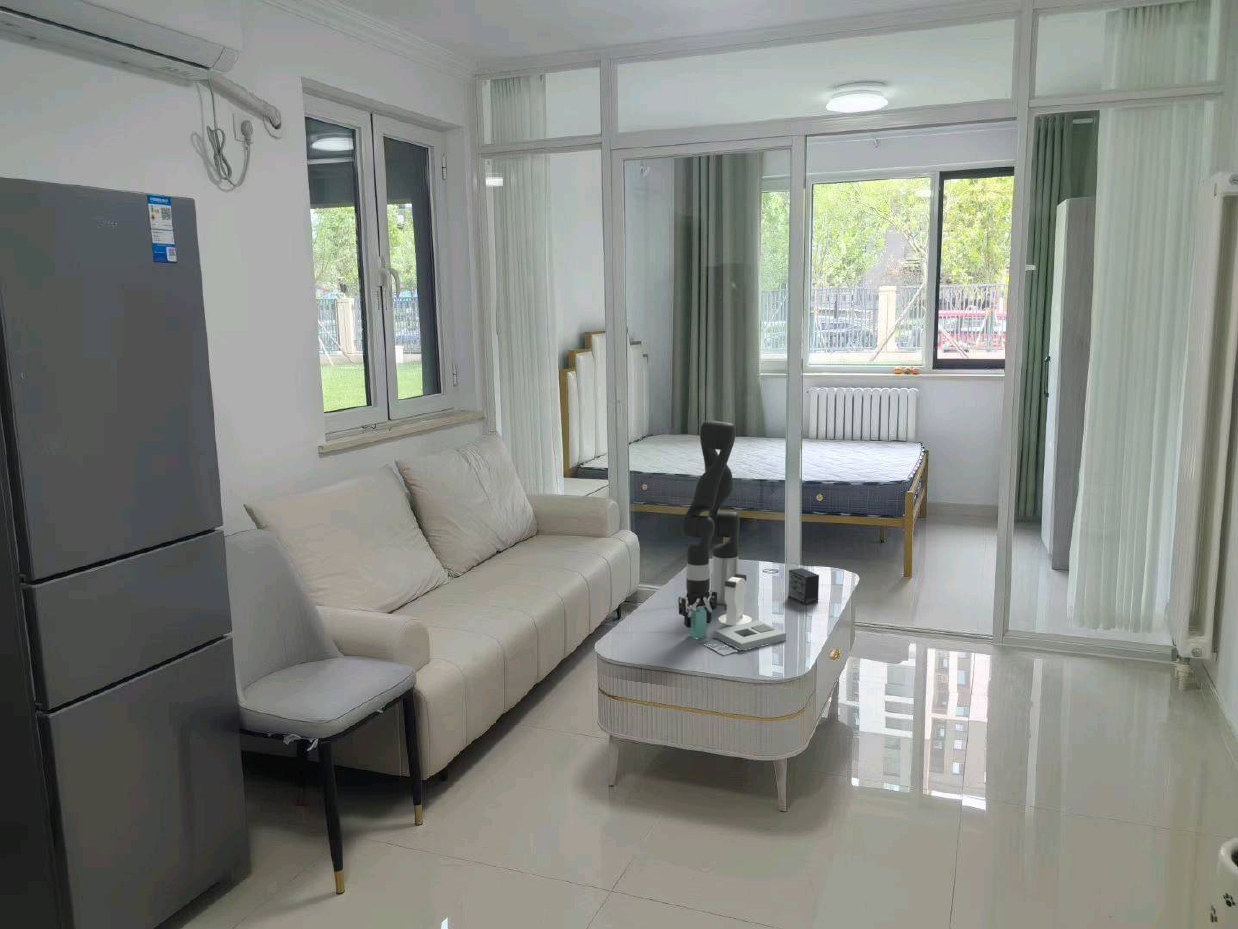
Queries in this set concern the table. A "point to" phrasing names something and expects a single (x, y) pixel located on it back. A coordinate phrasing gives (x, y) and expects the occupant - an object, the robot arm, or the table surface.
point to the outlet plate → (750, 635)
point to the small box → (803, 586)
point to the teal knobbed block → (698, 623)
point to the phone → (717, 644)
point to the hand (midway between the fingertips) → (697, 624)
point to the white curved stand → (735, 601)
